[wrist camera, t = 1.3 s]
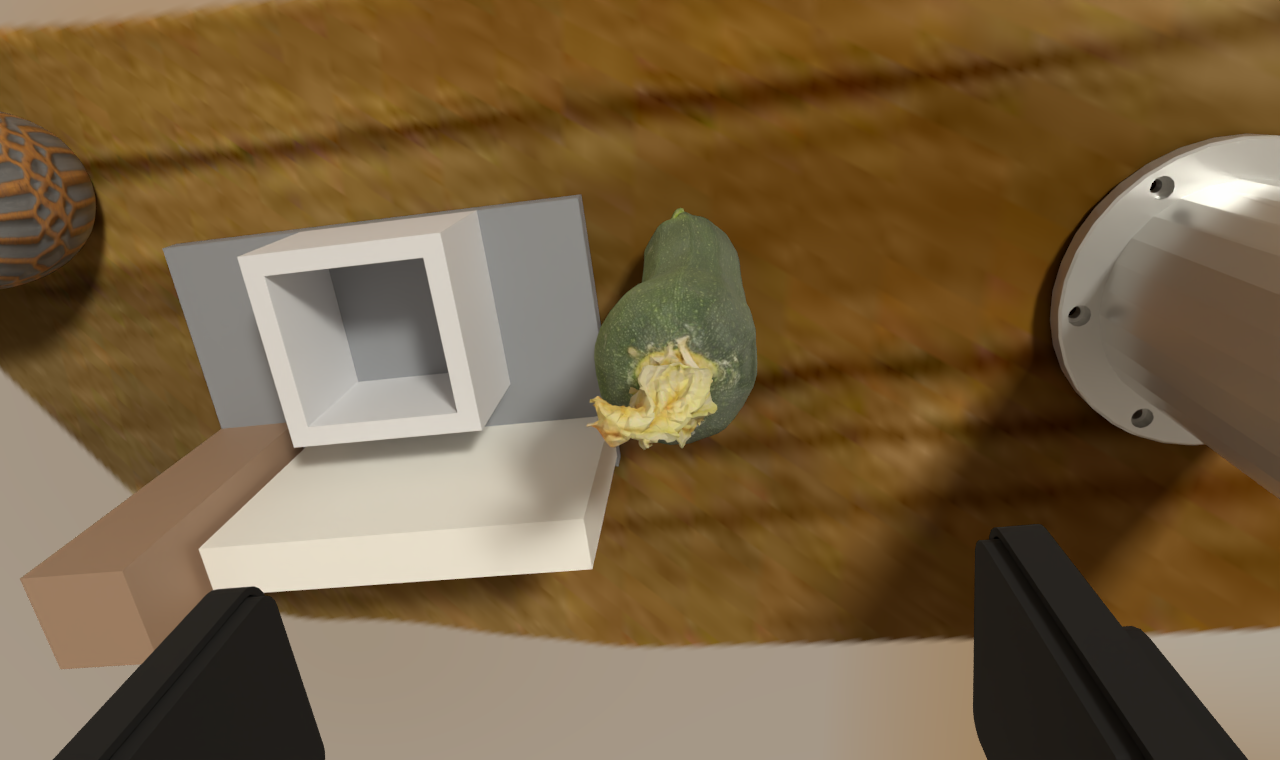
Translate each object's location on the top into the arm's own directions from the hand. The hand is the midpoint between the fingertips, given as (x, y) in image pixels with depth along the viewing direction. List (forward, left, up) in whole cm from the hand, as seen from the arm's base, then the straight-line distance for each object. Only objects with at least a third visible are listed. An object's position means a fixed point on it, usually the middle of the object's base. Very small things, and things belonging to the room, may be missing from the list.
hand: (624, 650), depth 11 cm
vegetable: (0, 0, -26) cm, 26 cm away
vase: (+27, -6, -26) cm, 37 cm away
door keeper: (+13, +3, -25) cm, 29 cm away
